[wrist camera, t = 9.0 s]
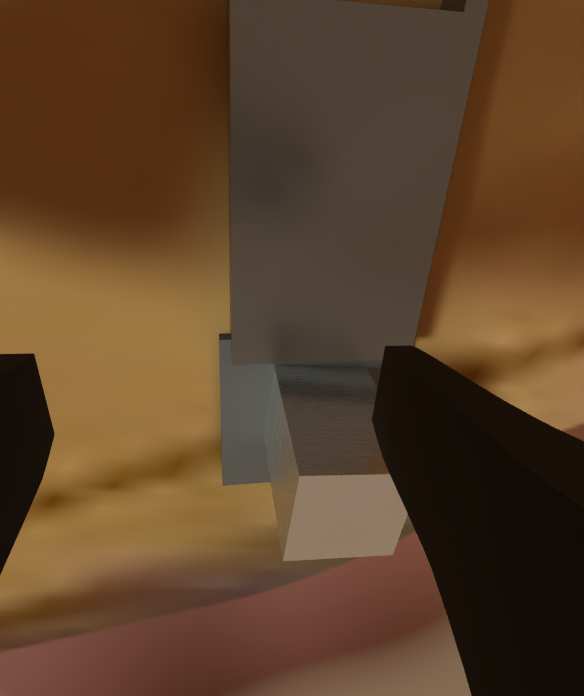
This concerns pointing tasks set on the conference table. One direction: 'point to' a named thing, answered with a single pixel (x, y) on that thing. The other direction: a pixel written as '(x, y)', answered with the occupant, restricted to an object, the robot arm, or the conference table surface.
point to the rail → (339, 169)
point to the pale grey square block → (329, 465)
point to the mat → (253, 412)
